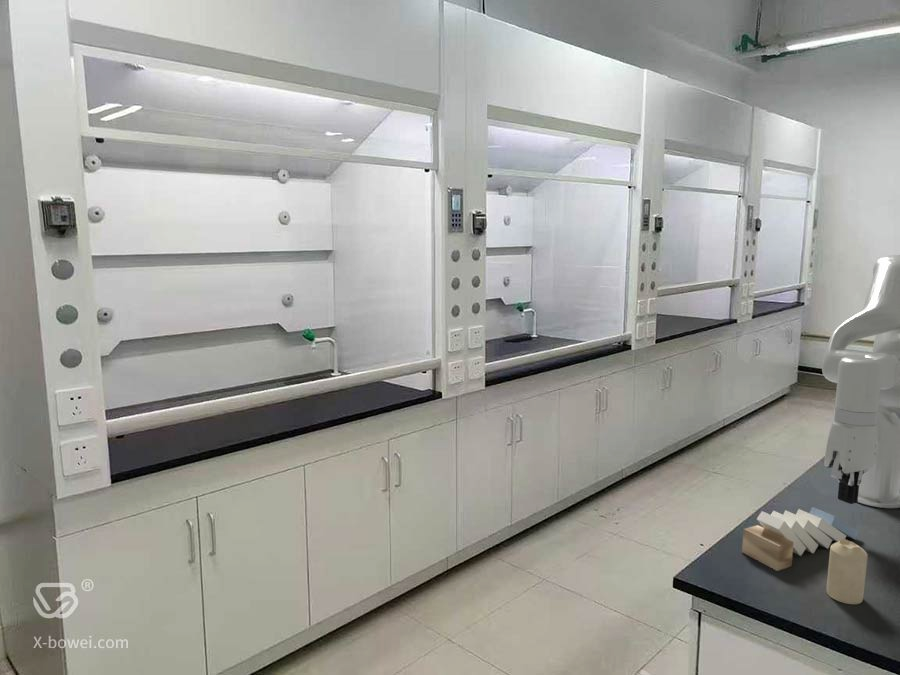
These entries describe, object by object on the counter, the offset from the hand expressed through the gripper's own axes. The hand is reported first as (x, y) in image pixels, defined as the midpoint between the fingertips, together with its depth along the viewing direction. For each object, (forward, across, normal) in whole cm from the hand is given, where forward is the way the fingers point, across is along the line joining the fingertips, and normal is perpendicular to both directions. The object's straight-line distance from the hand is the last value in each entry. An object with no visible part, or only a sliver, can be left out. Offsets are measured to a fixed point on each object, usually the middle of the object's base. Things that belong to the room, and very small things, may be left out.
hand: (847, 501), depth 133 cm
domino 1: (+7, +16, 0) cm, 18 cm away
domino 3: (+7, +8, 0) cm, 11 cm away
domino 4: (+7, +4, 0) cm, 8 cm away
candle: (+8, +22, +15) cm, 28 cm away
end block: (+8, +24, 0) cm, 25 cm away
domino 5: (+7, 0, 0) cm, 7 cm away
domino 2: (+7, +13, 0) cm, 14 cm away
